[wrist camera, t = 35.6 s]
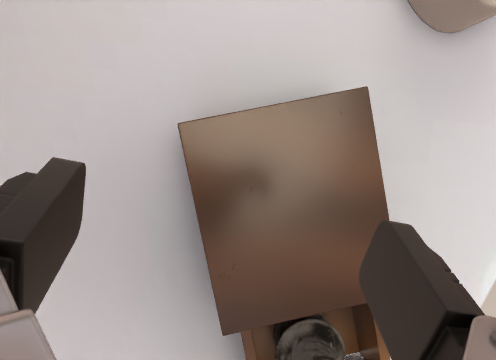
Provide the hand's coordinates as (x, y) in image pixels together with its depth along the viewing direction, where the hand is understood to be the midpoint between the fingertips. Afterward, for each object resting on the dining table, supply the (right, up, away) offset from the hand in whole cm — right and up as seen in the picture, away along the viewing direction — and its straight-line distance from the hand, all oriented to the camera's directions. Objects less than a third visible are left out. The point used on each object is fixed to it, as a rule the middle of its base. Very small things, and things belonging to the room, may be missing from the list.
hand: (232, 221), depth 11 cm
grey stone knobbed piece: (+5, -13, +27) cm, 31 cm away
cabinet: (+3, 0, +28) cm, 28 cm away
